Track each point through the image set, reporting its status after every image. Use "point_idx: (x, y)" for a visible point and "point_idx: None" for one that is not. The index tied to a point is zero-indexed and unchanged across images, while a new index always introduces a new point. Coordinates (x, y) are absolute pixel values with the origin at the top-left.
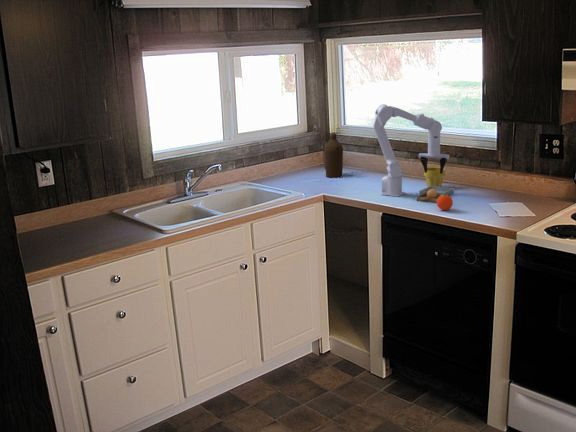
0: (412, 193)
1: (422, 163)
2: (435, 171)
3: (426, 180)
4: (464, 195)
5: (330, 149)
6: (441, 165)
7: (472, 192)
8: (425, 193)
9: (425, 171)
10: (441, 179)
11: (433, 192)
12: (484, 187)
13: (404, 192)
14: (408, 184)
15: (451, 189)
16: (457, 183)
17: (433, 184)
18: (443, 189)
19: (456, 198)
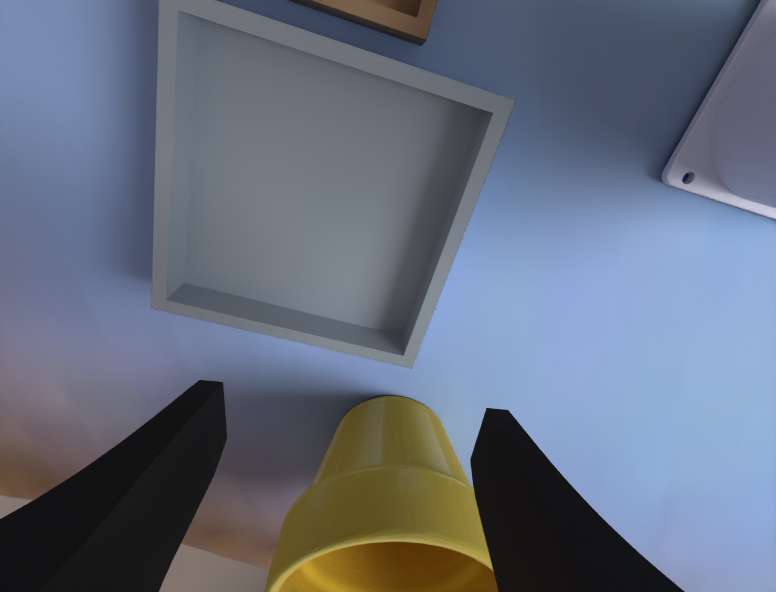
0: (575, 200)
1: (662, 580)
2: (358, 534)
3: (462, 470)
4: (32, 209)
5: None
6: (71, 507)
7: (25, 336)
8: (421, 1)
9: (501, 420)
10: (313, 481)
11: None
12: (27, 487)
13: (675, 175)
14: (597, 490)
15: (154, 260)
16: (253, 550)
17: (387, 419)
18: (267, 312)
19: (40, 36)
